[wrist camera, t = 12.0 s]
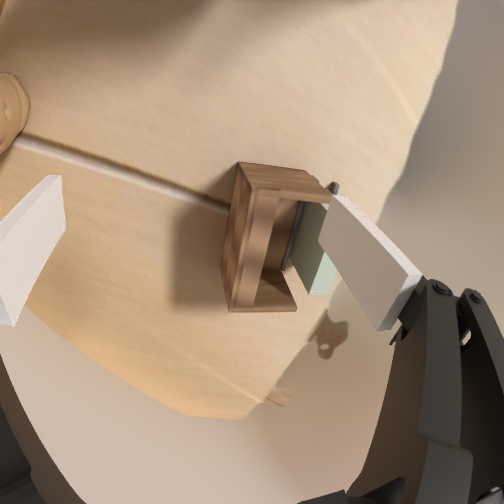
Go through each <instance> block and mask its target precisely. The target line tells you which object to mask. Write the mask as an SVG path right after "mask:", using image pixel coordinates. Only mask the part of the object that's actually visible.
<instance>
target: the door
mask: <svg viewBox="0 0 504 504" xmlns="http://www.w3.org/2000/svg"><path fill="white" fill-rule="evenodd" d="M328 207H329V204H324V203H317V202H309V201H304V205H303V208H302V212H301V215H300V219H299V222H298V226H297V229H296V233H295V236H294V240H293V243H292V247H291V250H290V254H289V257H290V259H291V261H292V263H293V265H294V267H295V269H296V271H297V273H298V275H299V277H300V278H301V280H302V282H303V284H304V286H305V288H306V290H307V292H308V294H309V295H324V294H328V293H329V291H330V289H331V286H332V284H333V281H334V279H335V277H336V274H337V272H338V270H337V269H336V267H335V266H334V264H333V263H332V261H331V260H330V258H329V257H328V255H327V254H326V253H325V251H324V250H323V248H322V247H321V245H320V244H319V242H318V238H319V235H320V232H321V229H322V226H323V223H324V220H325V217H326V213H327V210H328Z"/></svg>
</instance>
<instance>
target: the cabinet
mask: <svg viewBox="0 0 504 504" xmlns="http://www.w3.org/2000/svg"><path fill="white" fill-rule="evenodd" d="M338 189H339V184H337V183H336V182H333V183H332V186H331V190H330V191H329V190H328V189H326V188H323V187H322V186H321V185H320V184H319V181H318V180H317V179H316V178H315V177H314V176H313V175H310V174H309V173H307V172H306V171H303V170H297V169H291V168H284V167H277V166H269V165H262V164H254V163H246V162H238V166H237V171H236V177H235V183H234V189H233V195H232V200H231V206H230V212H229V218H228V225H227V231H226V237H225V243H224V250H223V256H222V263H221V275H222V280H223V285H224V290H225V296H226V301H227V306H228V311H229V312H296V310H297V305H296V303H295V301H294V299H293V296H292V294H291V292H290V290H289V287H288V285H287V283H286V281H285V278H284V276H283V274H282V272H281V270H283V271H284V270H285V267H286V264H287V260H288V257H289V254H290V250H291V247H292V243H293V240H294V236H295V233H296V229H297V226H298V222H299V219H300V215H301V212H302V208H303V205H304V201H309V202H317V203H324V204H330V200H331V197H332V195H337V192H338Z"/></svg>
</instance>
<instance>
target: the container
mask: <svg viewBox="0 0 504 504" xmlns="http://www.w3.org/2000/svg"><path fill="white" fill-rule="evenodd" d="M29 110H30V101H29V98H28V97H27V95H26V94H25V92H24V90H23V88H22V86H21V84H20V83H19V82H18V80H17V79H16V76H15V75H12V74H9V73H0V154H1V153H2V152H4V151H5V150H6V149H7V148H8V147H9V146H10V145H11V143H12V142H13V140H14V138H15V137H16V136H17V135H18V134H19V133H20V132H21V131H22V130H23V128H24V126H25V125H26V122H27V119H28V115H29Z"/></svg>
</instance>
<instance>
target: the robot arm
mask: <svg viewBox="0 0 504 504" xmlns="http://www.w3.org/2000/svg"><path fill="white" fill-rule="evenodd" d="M65 229H66V223H65V215H64V206H63V195H62V182H61V175H47V176H46V177H45V178H44V179H43V180H42V181H41V182H40V183H38V184H37V185H36V186H35V187H34V188H33V189H32V190H31V191H30V192H29V193H28V194H27V195H26V196H25V197H24V198H23V199H22V200H21V201H20V202H19V203H18V204H17V205H16V206H15V207H14V208H13V209H12V210H11V211H10V212H9V213H8V214H7V215H6V216H5V217H4V219H3V220H2V221H1V222H0V325H3V326H10V327H14V326H15V324H16V322H17V320H18V317H19V315H20V313H21V310H22V308H23V306H24V304H25V302H26V300H27V298H28V296H29V294H30V292H31V290H32V288H33V286H34V284H35V282H36V280H37V278H38V276H39V274H40V272H41V270H42V268H43V267H44V265H45V263H46V261H47V259H48V258H49V256H50V254H51V252H52V251H53V249H54V247H55V245H56V244H57V242H58V240H59V239H60V237H61V235H62V234H63V232H64V231H65ZM318 242H319V244H320V245H321V247H322V248H323V250H324V251H325V253H326V254H327V255H328V257H329V258H330V260H331V261H332V263H333V264H334V266H335V267H336V269H337V270H338V272H339V273H340V275H341V276H342V278H343V279H344V281H345V282H346V284H347V285H348V287H349V288H350V290H351V292H352V293H353V295H354V296H355V298H356V299H357V301H358V302H359V304H360V306H361V307H362V308H363V310H364V312H365V313H366V315H367V317H368V318H369V320H370V321H371V323H372V325H373V326H374V328H375V330H376V331H383V330H390V329H391V328H392V326H393V325H394V323H395V322H396V320H397V319H398V318H399V320H400V322H401V323H402V325H401V326H400V328H399V329H398V331H397V333H396V334H395V336H394V337H393V339H392V340H391V342H390V344H389V345H392V344H393V342H395V341H396V345H395V350H394V355H393V360H392V366H391V370H390V375H389V380H388V384H387V388H386V393H385V397H384V401H383V405H382V409H381V412H380V416H379V420H378V423H377V427H376V430H375V433H374V437H373V440H372V443H371V446H370V449H369V452H368V455H367V458H366V461H365V464H364V467H363V469H362V471H361V473H360V475H359V476H358V478H357V479H356V480H355V481H354V482H353V483H352V485H351V486H350V488H349V490H348V491H347V493H346V494H345V491H344V490H341V491H338V492H334V493H331V494H328V495H324V496H321V497H317V498H313V499H310V500H306V501H302V502H300V503H297V504H504V338H503V336H502V334H501V332H500V330H499V327H498V325H497V323H496V321H495V319H494V317H493V315H492V313H491V311H490V309H489V307H488V305H487V303H486V301H485V300H484V298H483V297H482V296H481V294H480V293H478V292H477V291H476V290H472V289H468V288H467V289H465V290H464V291H463V293H462V295H461V297H456V296H454V295H453V293H452V291H451V290H450V289H449V288H448V287H447V286H446V285H445V284H443V283H442V282H440V281H437V280H434V279H430V280H427V279H426V278H425V277H424V276H423V275H422V273H421V272H420V271H419V270H418V269H417V268H416V267H415V266H414V265H413V264H412V263H411V261H410V260H409V259H408V258H407V257H406V256H405V255H404V254H403V253H402V252H401V251H400V250H399V249H398V248H397V247H396V246H395V245H394V244H393V243H392V242H391V241H390V239H388V237H386V235H385V234H383V232H382V231H381V230H380V229H379V228H378V227H377V226H376V225H375V224H374V223H372V222H371V221H370V220H369V219H368V218H367V217H366V216H365V215H364V214H363V213H362V212H361V211H360V210H359V209H358V208H357V207H356V206H355V205H354V204H353V203H351V202H350V201H349V200H348V199H347V198H346V197H345V196H339V195H332V197H331V200H330V204H329V207H328V210H327V213H326V217H325V220H324V223H323V226H322V229H321V232H320V235H319V238H318ZM469 331H471V338H470V339H469V340H468V342H467V343H466V344H465V345H463V342H462V340H463V339H464V338H465V337H466V335H467V334H468V332H469ZM0 504H86V503H85V502H84V501H83V500H82V499H81V498H80V497H79V496H78V495H77V494H76V492H75V491H74V490H73V489H72V487H71V486H70V485H69V483H68V482H67V480H66V479H65V478H64V476H63V475H62V473H61V472H60V471H59V469H58V467H57V466H56V465H55V463H54V462H53V460H52V458H51V457H50V455H49V454H48V452H47V450H46V449H45V448H44V445H43V444H42V442H41V440H40V439H39V437H38V435H37V433H36V432H35V430H34V428H33V426H32V424H31V422H30V421H29V419H28V417H27V415H26V413H25V411H24V409H23V407H22V405H21V403H20V401H19V399H18V396H17V394H16V392H15V390H14V387H13V385H12V383H11V380H10V378H9V376H8V373H7V371H6V368H5V366H4V363H3V360H2V357H1V354H0Z"/></svg>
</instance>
